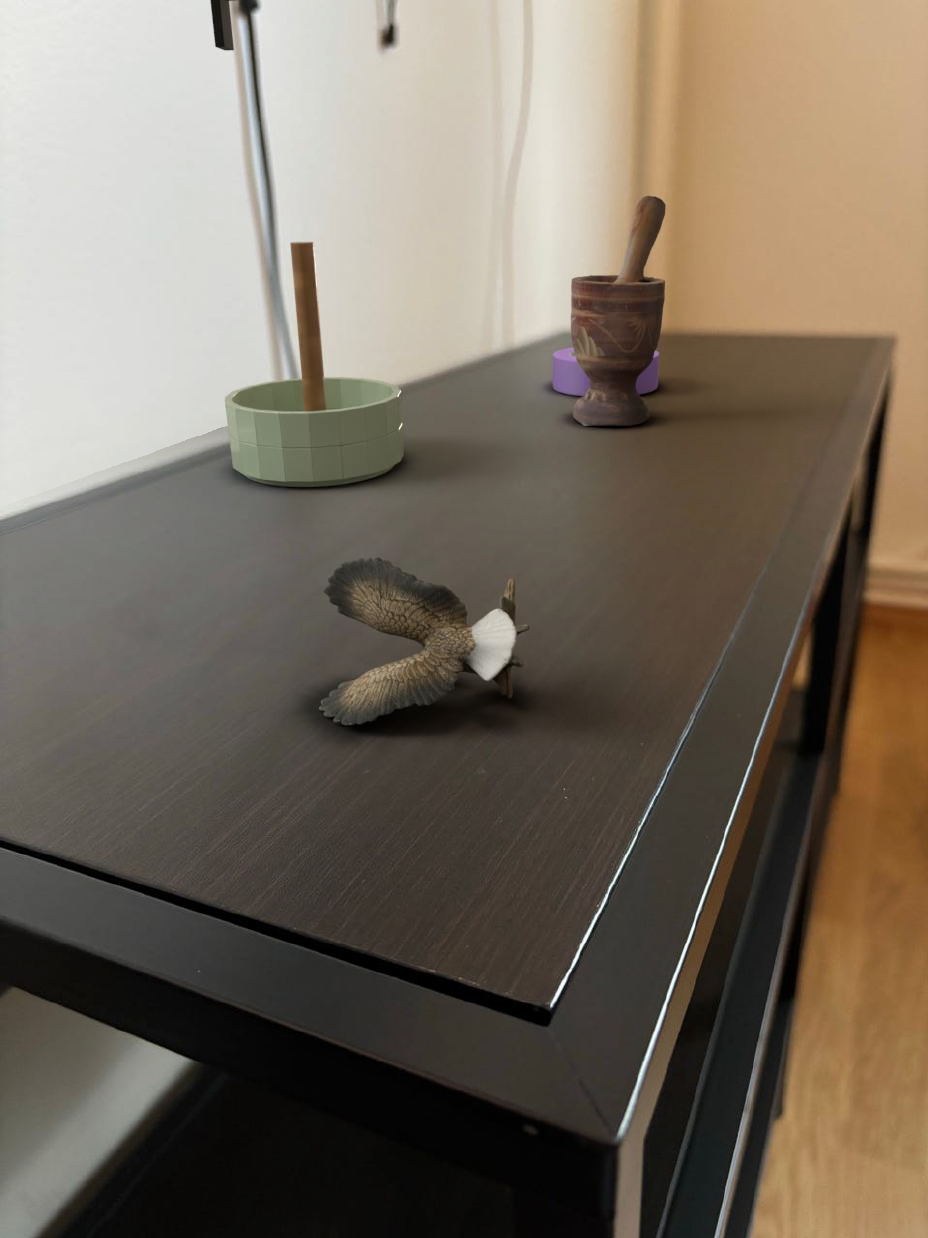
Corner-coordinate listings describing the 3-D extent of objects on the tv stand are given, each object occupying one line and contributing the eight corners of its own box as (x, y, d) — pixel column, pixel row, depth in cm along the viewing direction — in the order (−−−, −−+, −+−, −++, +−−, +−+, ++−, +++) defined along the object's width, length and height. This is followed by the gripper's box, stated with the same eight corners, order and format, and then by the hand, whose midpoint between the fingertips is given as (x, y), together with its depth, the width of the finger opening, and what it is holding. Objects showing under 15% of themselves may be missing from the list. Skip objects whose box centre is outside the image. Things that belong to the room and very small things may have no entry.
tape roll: (533, 391, 109) (533, 356, 108) (582, 374, 118) (583, 341, 116) (630, 402, 103) (632, 365, 102) (674, 383, 112) (676, 348, 110)
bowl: (211, 489, 77) (201, 413, 75) (257, 443, 90) (250, 377, 88) (391, 489, 76) (387, 412, 74) (412, 443, 89) (409, 376, 87)
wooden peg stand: (278, 467, 81) (257, 245, 74) (294, 449, 86) (274, 240, 79) (346, 466, 80) (331, 244, 73) (357, 449, 85) (344, 239, 78)
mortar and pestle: (578, 401, 104) (584, 195, 96) (661, 404, 102) (675, 194, 94) (561, 427, 94) (566, 199, 86) (653, 431, 92) (668, 197, 84)
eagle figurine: (495, 624, 51) (319, 606, 49) (533, 539, 45) (335, 516, 43) (502, 760, 46) (310, 746, 45) (545, 687, 41) (326, 668, 39)
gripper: (279, -274, 74) (303, 51, 83) (-41, -258, 76) (16, 59, 84) (254, -319, 67) (283, 40, 76) (-98, -300, 69) (-30, 49, 78)
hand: (142, 51), depth 80 cm, fingers open, 13 cm apart
